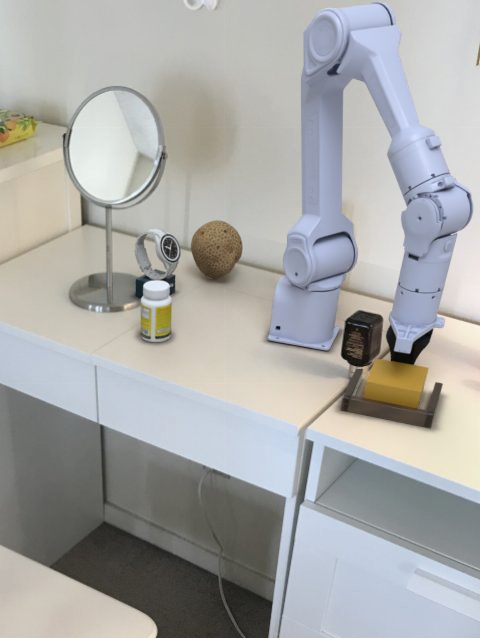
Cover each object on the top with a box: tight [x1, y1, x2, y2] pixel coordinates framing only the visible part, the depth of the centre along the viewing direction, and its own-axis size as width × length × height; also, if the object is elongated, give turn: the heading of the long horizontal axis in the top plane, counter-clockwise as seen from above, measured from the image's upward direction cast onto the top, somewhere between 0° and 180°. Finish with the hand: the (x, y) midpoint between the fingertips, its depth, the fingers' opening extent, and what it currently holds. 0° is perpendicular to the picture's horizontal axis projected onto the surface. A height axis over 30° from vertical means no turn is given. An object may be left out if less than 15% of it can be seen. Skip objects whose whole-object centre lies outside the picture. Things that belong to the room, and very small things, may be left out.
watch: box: [134, 227, 182, 299], centre depth 137 cm, size 6×8×11 cm
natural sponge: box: [190, 219, 243, 280], centre depth 143 cm, size 9×9×10 cm
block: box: [362, 358, 429, 409], centre depth 110 cm, size 7×7×4 cm
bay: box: [340, 368, 444, 429], centre depth 110 cm, size 12×9×2 cm
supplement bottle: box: [140, 280, 173, 343], centre depth 125 cm, size 5×5×8 cm
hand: (399, 377), depth 114 cm, fingers closed
